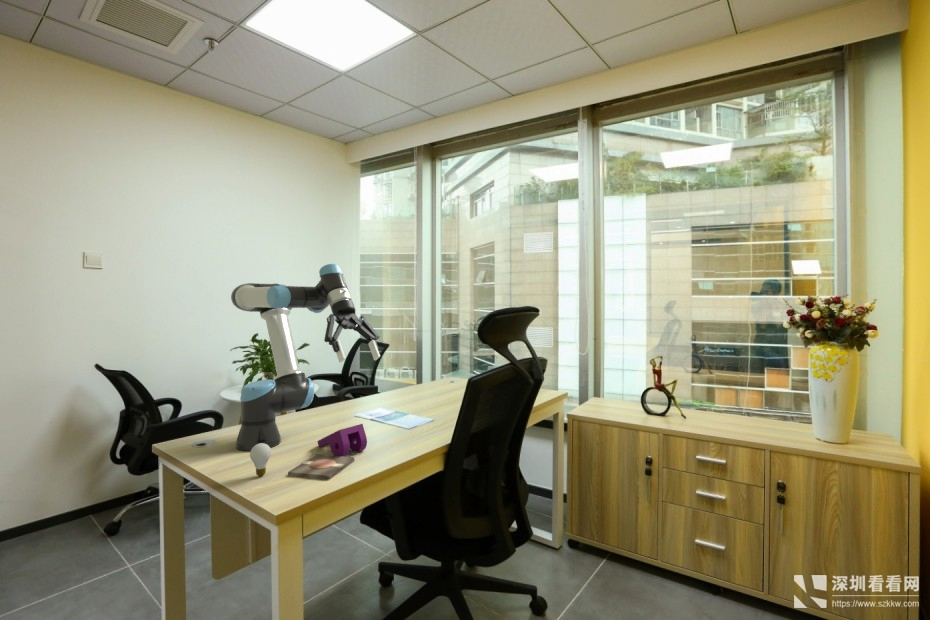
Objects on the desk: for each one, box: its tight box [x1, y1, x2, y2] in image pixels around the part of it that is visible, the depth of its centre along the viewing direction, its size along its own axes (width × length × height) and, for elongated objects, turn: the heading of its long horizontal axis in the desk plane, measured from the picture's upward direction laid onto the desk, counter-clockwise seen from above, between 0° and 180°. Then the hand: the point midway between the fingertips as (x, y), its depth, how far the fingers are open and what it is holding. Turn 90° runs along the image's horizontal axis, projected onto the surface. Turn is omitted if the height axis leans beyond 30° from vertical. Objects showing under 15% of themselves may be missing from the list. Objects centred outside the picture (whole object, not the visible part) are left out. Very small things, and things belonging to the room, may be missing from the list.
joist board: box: [287, 453, 355, 481], centre depth 141 cm, size 14×16×1 cm
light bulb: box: [249, 443, 272, 477], centre depth 134 cm, size 6×6×10 cm
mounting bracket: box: [317, 423, 368, 457], centre depth 158 cm, size 10×9×19 cm
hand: (360, 359), depth 142 cm, fingers open, 13 cm apart
